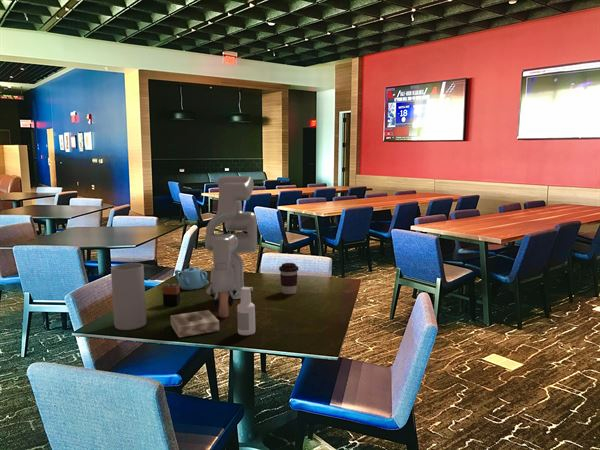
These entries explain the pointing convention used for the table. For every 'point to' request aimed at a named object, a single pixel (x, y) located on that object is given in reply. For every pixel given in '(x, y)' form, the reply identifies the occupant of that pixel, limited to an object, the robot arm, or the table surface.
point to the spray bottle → (246, 313)
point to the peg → (223, 304)
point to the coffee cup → (288, 277)
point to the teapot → (191, 278)
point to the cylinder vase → (128, 296)
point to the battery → (171, 295)
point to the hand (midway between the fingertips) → (223, 306)
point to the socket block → (194, 323)
